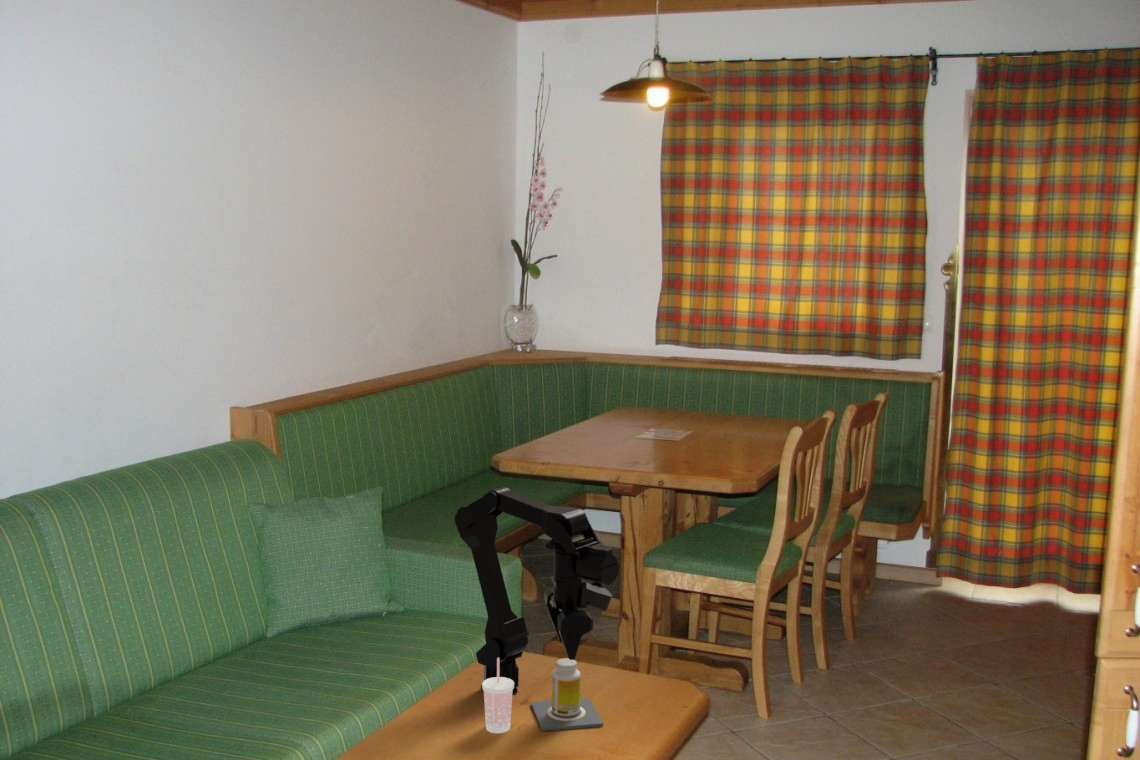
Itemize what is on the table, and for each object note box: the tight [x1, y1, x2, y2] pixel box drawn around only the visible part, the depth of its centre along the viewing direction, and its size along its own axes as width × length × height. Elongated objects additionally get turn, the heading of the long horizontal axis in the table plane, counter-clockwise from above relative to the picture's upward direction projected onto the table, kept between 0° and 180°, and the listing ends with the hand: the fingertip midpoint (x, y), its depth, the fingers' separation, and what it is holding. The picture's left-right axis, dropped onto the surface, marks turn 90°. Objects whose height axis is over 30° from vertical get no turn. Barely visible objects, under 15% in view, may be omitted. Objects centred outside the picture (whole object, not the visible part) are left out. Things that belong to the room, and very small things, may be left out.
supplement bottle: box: [551, 657, 581, 716], centre depth 216 cm, size 6×6×10 cm
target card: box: [530, 697, 604, 732], centre depth 217 cm, size 12×12×1 cm
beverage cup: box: [481, 658, 514, 734], centre depth 210 cm, size 6×6×14 cm
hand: (567, 650), depth 216 cm, fingers open, 9 cm apart
